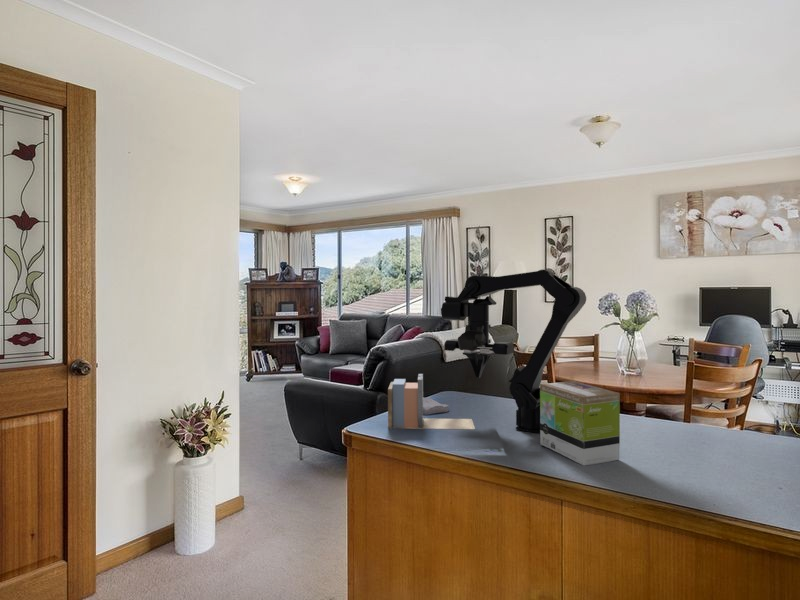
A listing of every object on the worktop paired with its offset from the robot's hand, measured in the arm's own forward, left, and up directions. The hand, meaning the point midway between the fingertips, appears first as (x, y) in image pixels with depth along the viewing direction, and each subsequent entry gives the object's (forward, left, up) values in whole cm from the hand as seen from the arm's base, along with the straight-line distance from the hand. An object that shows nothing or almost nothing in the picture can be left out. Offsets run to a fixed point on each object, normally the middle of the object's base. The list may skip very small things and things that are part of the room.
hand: (478, 377), depth 139 cm
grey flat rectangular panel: (+10, +14, -11) cm, 20 cm away
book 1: (+15, +17, -11) cm, 25 cm away
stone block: (+16, -1, -12) cm, 21 cm away
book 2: (+12, +15, -11) cm, 22 cm away
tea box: (-30, +13, -12) cm, 35 cm away
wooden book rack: (+7, +13, -12) cm, 19 cm away
